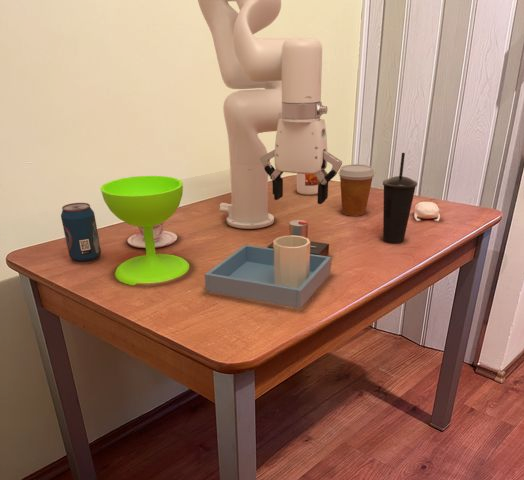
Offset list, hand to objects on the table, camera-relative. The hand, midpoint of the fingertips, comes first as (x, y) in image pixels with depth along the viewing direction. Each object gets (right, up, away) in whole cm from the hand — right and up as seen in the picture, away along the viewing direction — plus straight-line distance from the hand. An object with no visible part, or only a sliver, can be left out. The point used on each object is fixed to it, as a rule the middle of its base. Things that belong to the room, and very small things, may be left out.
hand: (299, 200), depth 113 cm
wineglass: (-31, -15, +2) cm, 35 cm away
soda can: (-48, -11, +9) cm, 50 cm away
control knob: (0, -8, +5) cm, 10 cm away
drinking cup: (+24, -5, +16) cm, 29 cm away
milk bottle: (+7, +18, +55) cm, 58 cm away
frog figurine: (+36, +4, +31) cm, 48 cm away
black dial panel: (0, -11, +7) cm, 13 cm away
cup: (-2, -19, -7) cm, 20 cm away
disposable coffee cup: (+17, +6, +36) cm, 40 cm away
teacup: (-35, -5, +18) cm, 40 cm away
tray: (-6, -18, -5) cm, 20 cm away
